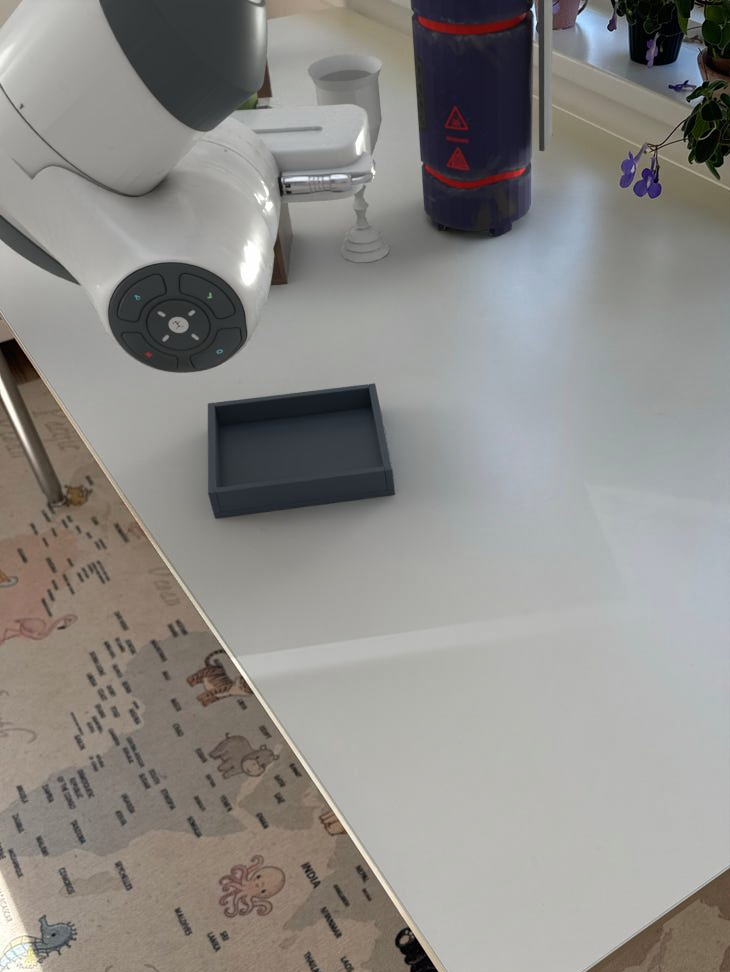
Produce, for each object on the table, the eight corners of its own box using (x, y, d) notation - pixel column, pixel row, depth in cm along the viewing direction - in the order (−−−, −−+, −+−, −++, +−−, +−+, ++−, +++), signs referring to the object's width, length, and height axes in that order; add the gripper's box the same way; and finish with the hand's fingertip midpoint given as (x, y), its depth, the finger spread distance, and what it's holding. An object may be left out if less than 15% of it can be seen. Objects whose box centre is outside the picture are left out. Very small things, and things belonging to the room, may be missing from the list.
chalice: (370, 273, 107) (350, 86, 94) (318, 257, 110) (291, 73, 96) (410, 244, 111) (397, 61, 98) (359, 229, 114) (339, 49, 101)
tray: (214, 518, 81) (207, 493, 79) (213, 427, 89) (207, 403, 87) (395, 494, 83) (392, 469, 81) (377, 407, 91) (375, 382, 89)
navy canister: (409, 234, 113) (385, -98, 91) (442, 187, 120) (426, -129, 98) (534, 248, 110) (539, -91, 88) (558, 199, 118) (569, -124, 96)
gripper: (370, 132, 63) (369, 54, 72) (29, 151, 62) (73, 70, 72) (380, 233, 68) (378, 148, 77) (62, 252, 67) (100, 164, 76)
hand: (229, 111), depth 74 cm, fingers closed on vegetable, 4 cm apart
